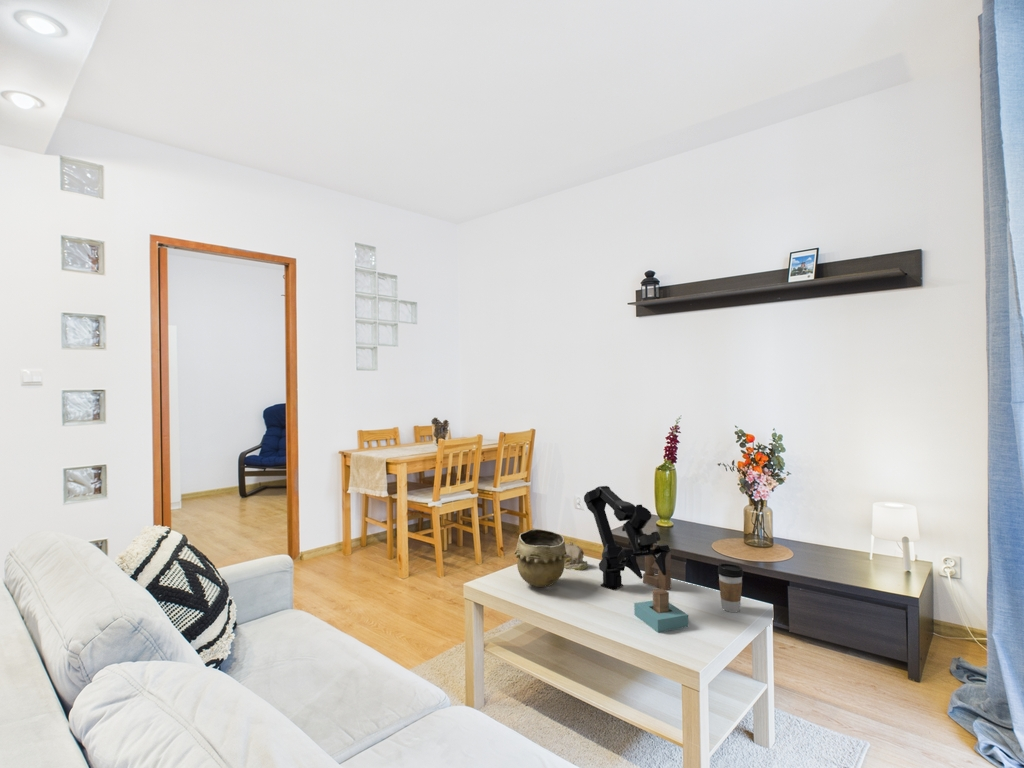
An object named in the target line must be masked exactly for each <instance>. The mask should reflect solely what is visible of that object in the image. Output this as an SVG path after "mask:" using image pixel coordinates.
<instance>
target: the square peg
mask: <svg viewBox="0 0 1024 768" xmlns="http://www.w3.org/2000/svg"><path fill="white" fill-rule="evenodd" d="M669 594H670V592H669V591H667V590H664V589H662V588H654V589H652V600H653V610H654V611H656V612H657V613H658V614H659V613H665V612H669V603H670V601H669V599H670V596H669Z"/></svg>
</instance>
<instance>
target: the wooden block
mask: <svg viewBox="0 0 1024 768" xmlns="http://www.w3.org/2000/svg"><path fill="white" fill-rule="evenodd" d="M650 549H651V550H652V549H655V544H653V547H652V548H650ZM671 554H672V553H671V551H670V552H669V553H668V555H667V556H666V558H665V566H666V575H665V576H664V575H663V574H662V572H661V570H660V569H659V567H658V565H657V563H656V562H655V558H654V556H653V555H651V556H644V573H643V574H642V576H643V578H642V583H644V584H646V585H650V586H653V587H655V588H657V589H660V588H662V589H664V590H665V591H667V590H670V589H671V588H672V573H671V572H672V571H671V569H672V555H671ZM655 570H658V571H657V572H658V573H657V574H656V573H655Z"/></svg>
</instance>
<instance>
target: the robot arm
mask: <svg viewBox="0 0 1024 768" xmlns="http://www.w3.org/2000/svg"><path fill="white" fill-rule="evenodd" d="M583 502H584V503H585V506H586V508H587V509H588V511H590V513H592V514H593V518H594V520H595V523H596V527H597V531H598V534H599V536H600V537H599V538H600V540H601V543H602V546H603V548H602V549H603V550H602V554H601V560H600V562H599V563H598V570H599V571H601V572H602V583H601V584H600V587H603V588H606V589H610V590H613V591H615V590H617V589H620V588H623V586H624V584H623V583H622V577H623V576H622V573H621V572H624V571H625V568H628V569H630V571H631V572H632V573H634V574H635V576H637V577H638V579H641V580H643V574H642V571H641V569H640V567H639V564H638V562H637V558H642V557H645V556H651V555H653V556H654V563H655V562H656V563H657V565H658V567H659V569H660V570H661V572H662V574H663V575H664V576H665V575H666V566H665V558H666V556H667V555H668V553H669V552H671V551H672V550H671V547H670V545H669V544H666V543H665V544H664V543H663V544H658V542H659V541H661V535H660V533H659V531H652V532H651V533H650V534H647V533H644V531H643V529H644V528H645V527H646V526H647V524H648V523H649V521H650V520H651V519H652V512H651V511H650V510H649V509H648V508H646V507H645V506H643V504H642V503H641V504H640V503H639V504H636V505H635V504H633V503H632V502H630V501H625V500H623V499H622V498H620V497H619V496H618V495H617V494H616V493H615V492H614V491H613V490H612V489H611V487H610V486H608V485H600V486H597V487H595V488H594V489H592V490H589V491H586V493H585V494H584V496H583ZM606 505H608V506H609V507H610V508H611V509H612V510H613V515H614V516H615V518H616V520H617V521H618V522H625V521H626V522H625V523H623V526H622V532H625V533H626V536H627V538H628V540H629V542H628V546H631V548H630V547H629V548H623V547H622V545H618V544H616V541H615V538H614V536H613V532H612V529H611V525H610V522H609V519H608V516H607V513H606V507H607V506H606ZM653 544H654V545H655V544H658V545H656V546H655V547H654V549H652V550H651V549H650V548H652V547H653Z"/></svg>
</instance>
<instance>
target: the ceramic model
mask: <svg viewBox="0 0 1024 768" xmlns="http://www.w3.org/2000/svg"><path fill="white" fill-rule="evenodd" d="M565 548H566V549H565V550H566V552H567V554H566V555H565V556H566V557H565V558H564V568H566V569H565V570H571V569H575V570H574V571H583V569H584V570H585V569H587V568H588V561H587V560H584V554H585V553H584V551H583V548H581V547H580V546H579V545H577V544H574V543H573V542H571V541H570V542H569V543H565Z"/></svg>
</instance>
